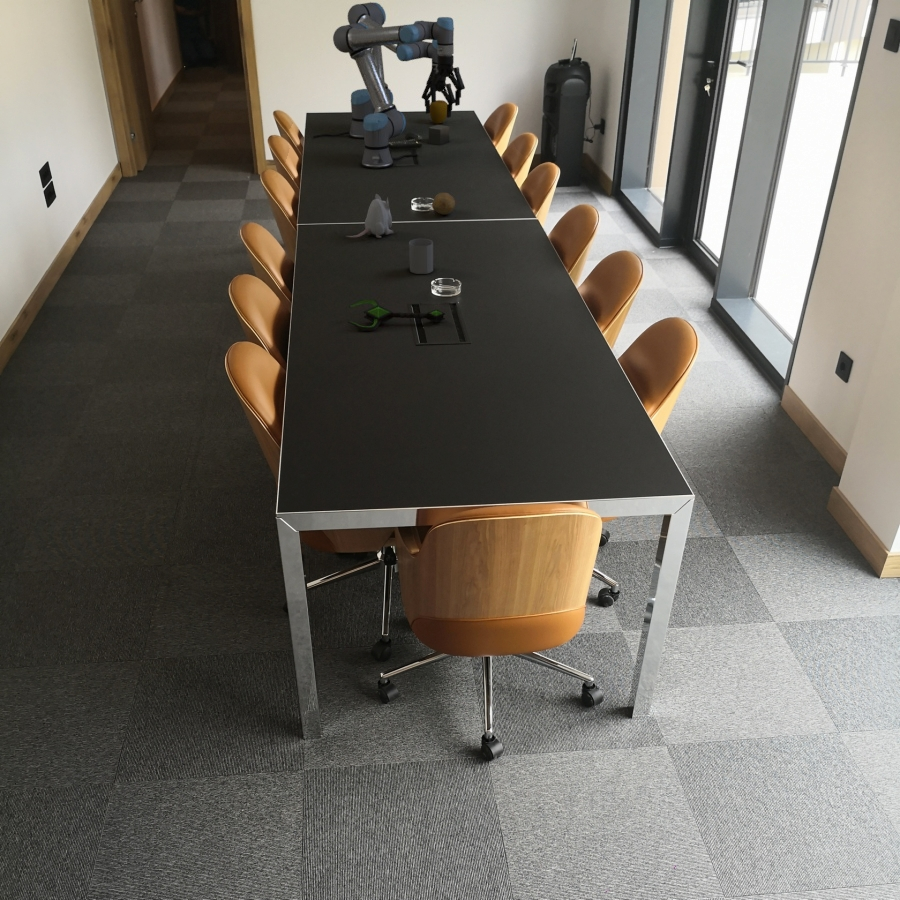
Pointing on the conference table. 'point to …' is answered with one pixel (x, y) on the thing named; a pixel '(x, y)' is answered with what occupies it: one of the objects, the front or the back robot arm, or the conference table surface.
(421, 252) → the cup
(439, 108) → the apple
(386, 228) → the toy
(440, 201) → the potato
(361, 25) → the front robot arm
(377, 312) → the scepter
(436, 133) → the gray cube
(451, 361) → the conference table surface
